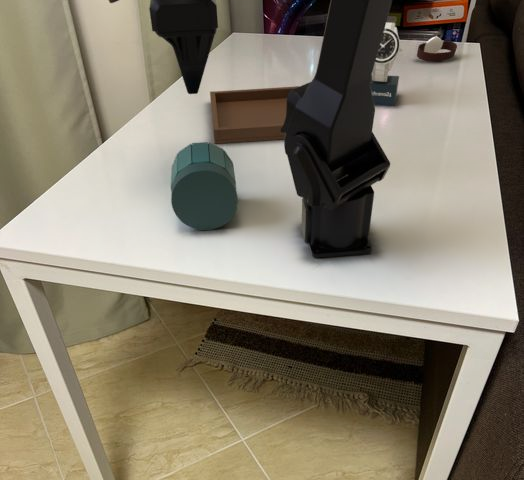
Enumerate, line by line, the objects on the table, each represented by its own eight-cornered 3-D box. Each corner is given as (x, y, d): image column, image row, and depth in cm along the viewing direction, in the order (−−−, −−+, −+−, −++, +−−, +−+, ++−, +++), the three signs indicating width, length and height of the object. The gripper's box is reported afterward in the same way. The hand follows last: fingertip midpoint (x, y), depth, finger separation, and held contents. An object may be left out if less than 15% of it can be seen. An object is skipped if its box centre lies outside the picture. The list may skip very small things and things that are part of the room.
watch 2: (447, 53, 106) (451, 32, 104) (460, 60, 103) (464, 38, 101) (411, 57, 105) (414, 36, 103) (422, 64, 102) (426, 43, 99)
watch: (357, 107, 87) (365, 30, 80) (364, 90, 93) (371, 16, 85) (393, 110, 86) (404, 32, 79) (397, 92, 92) (408, 17, 84)
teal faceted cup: (239, 228, 62) (235, 167, 57) (175, 232, 62) (166, 172, 57) (235, 197, 67) (231, 140, 62) (176, 202, 67) (168, 144, 62)
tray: (298, 98, 91) (299, 86, 90) (314, 137, 80) (315, 123, 78) (211, 104, 90) (209, 91, 89) (214, 143, 79) (213, 130, 77)
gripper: (98, -102, 58) (126, 58, 69) (74, -78, 45) (114, 116, 56) (204, -105, 59) (215, 54, 70) (211, -83, 46) (223, 109, 56)
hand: (192, 80), depth 63 cm, fingers open, 8 cm apart
